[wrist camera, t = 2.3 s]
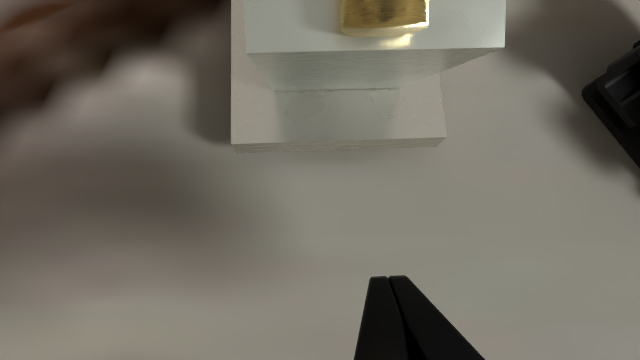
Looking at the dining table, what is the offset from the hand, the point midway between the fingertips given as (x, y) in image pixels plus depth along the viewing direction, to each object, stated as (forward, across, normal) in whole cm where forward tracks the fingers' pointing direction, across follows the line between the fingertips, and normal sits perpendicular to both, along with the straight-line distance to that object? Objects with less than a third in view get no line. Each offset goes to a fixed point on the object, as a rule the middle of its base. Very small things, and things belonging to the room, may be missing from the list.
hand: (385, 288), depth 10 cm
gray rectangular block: (+16, 0, 0) cm, 16 cm away
